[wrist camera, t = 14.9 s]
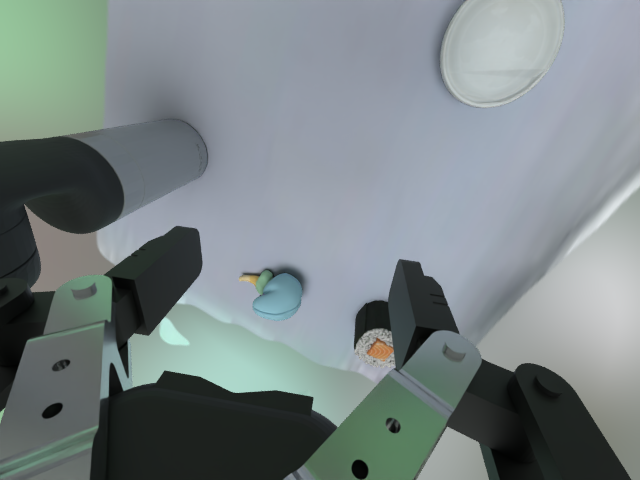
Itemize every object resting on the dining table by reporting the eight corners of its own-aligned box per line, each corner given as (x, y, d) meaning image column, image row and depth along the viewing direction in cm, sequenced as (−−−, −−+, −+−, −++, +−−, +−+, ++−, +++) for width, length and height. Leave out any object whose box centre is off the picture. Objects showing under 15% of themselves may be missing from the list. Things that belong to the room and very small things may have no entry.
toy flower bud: (218, 283, 45) (293, 302, 43) (244, 255, 53) (309, 270, 51) (220, 318, 48) (290, 337, 47) (244, 287, 56) (305, 302, 54)
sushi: (349, 323, 56) (346, 357, 49) (372, 293, 52) (372, 326, 45) (386, 341, 56) (388, 378, 49) (411, 313, 52) (418, 348, 45)
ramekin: (453, 123, 38) (464, 128, 33) (415, 35, 34) (423, 27, 29) (551, 68, 34) (579, 65, 29) (520, -38, 30) (547, -61, 25)
